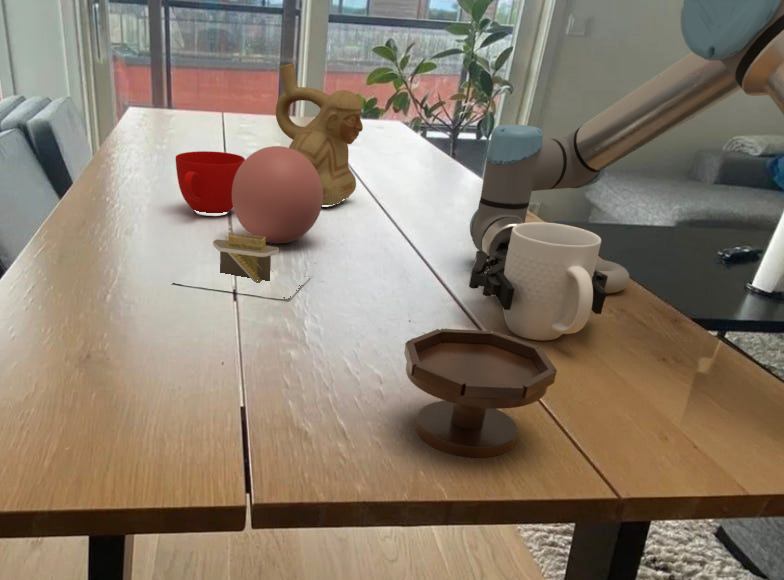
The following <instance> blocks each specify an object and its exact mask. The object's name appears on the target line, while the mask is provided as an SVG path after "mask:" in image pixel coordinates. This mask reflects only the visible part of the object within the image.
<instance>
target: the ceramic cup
mask: <svg viewBox="0 0 784 580" xmlns="http://www.w3.org/2000/svg"><path fill="white" fill-rule="evenodd" d="M245 159H246V158H245V157H244V156H243V155H239V154H235V153H230V152H224V151H223V152H222V151H213V150H212V151H206V150H205V151H204V150H203V151H202V150H201V151H198V150H197V151H187V152H182V153H178V154H176V156H175V168H176V177H177V183H178V187H179V191H180V193H181V195H182V198H183V200H184V202H186V204H187V205H188V206H189V208H190V209H191V210H192V209H193V210H196V211H199V212H206V213H223V212H228V211H229V212H231V210H232V209H234V208H233V204H232V185H233V181H234V177H235V175H236V172H237V170H238V169H239V167H240V166H241V164H242V163H243V162H244V161H245ZM193 210H192V211H193Z"/></svg>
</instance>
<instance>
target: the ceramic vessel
mask: <svg viewBox="0 0 784 580" xmlns="http://www.w3.org/2000/svg"><path fill="white" fill-rule="evenodd" d="M278 69H279V72H280V76H281V80H282V85H283V92H282V93H281V94H280V96H279V97H278V99H277V101H276V105H275V118H276V119H275V120H276V122H277V125H278V127H279V129H280V130H281V132H283V134H285V135H286V137H288V138H289V139H290V140H292V141H291V142H290V145H288V148H291V149H293V150H296V151H298V152H299V153H301V154H302V155H304V156H305V157H306V158H307V159H308V160H309V161H310V162H311V163H312V164H313V166H314V167H315V169H316V170H317V172H318V174H319V177H320V180H321V183H322V189H323V202H322V205H333V204H337V203H339V202H341V201H342V200H343V199H346V198H348V199H349V198H350V196H351V195H352V194H353V193H354V192H355V190H356V188H357V179H356V176H355V175H354V173H353V171H352V170H351V169H350V167H349V145H351V144H353V143H354V141H355V140H357V139H358V137H359V135H360V133H361V132H362V131H363V129H364V126H363V122H362V119H361V118H362V110H363V108H364V106H363V103H362V101H361V99H360V97H359V96H358V95H357V94H356V93H354V92H352V91H350V90H345V89H339V90H336V91H334V92H332V93H331V94H329V93H327V92H324V91H322V90H319V89H317V88H313V87H307V86H299V85H298V83H297V77H296V68H295V63H287V64H284V65H280V66H279V67H278ZM301 101H308V102H311V103H313V104H314V105H316V106H317V107H318V108H320V110H319V112H318V113H317V115H316V116H315V117H314V118H313V119H312V120H311V121H310V122H309V123H307V125H306V126H300V125H298V124H296V123H295V122H293V120H292V119H291V117H290V114H289V109H290V106H291V105H292V104H294V103H295V102H301ZM341 203H342V202H341ZM339 204H340V203H339Z"/></svg>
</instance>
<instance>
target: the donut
mask: <svg viewBox="0 0 784 580" xmlns="http://www.w3.org/2000/svg"><path fill="white" fill-rule="evenodd" d="M595 270H597V271H599V272H601V273H603V274H605V275H607V276H608V278H607V282H606V286H605V290H604V291H605V292H606V295H607V294H609V295H610V294H615V293H618V292H619V293H620V292H621V291H622V290H624V289H626V288H627V286H628V285H629V281H630V273H629V272H628V270H627V269H626V268H625V267H624V266H623V265H620V264H619V263H616V262H614V261H610V260H605V259H599V258H597V261H596V266H595Z"/></svg>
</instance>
